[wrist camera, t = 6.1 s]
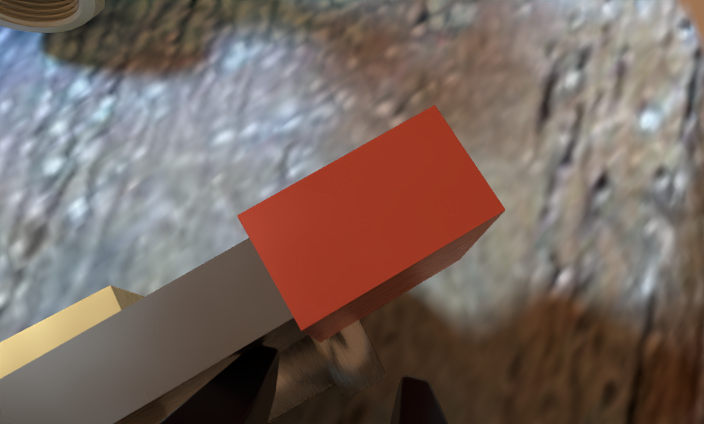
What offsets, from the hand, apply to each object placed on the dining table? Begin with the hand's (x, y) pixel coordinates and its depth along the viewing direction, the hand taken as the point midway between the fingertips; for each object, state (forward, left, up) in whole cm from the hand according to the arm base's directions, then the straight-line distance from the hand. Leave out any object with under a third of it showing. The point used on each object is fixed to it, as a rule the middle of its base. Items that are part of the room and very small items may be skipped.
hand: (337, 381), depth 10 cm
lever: (0, +3, -2) cm, 4 cm away
